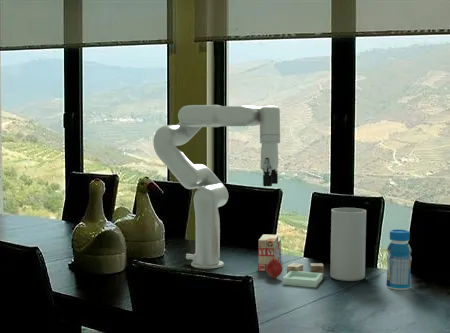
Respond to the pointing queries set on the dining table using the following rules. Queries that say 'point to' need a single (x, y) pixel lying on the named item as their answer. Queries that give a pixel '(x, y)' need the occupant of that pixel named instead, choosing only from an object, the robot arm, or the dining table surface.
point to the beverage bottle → (399, 260)
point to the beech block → (295, 267)
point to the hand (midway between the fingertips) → (270, 184)
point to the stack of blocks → (268, 250)
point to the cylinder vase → (348, 244)
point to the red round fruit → (274, 268)
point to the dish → (302, 279)
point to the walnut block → (317, 268)
